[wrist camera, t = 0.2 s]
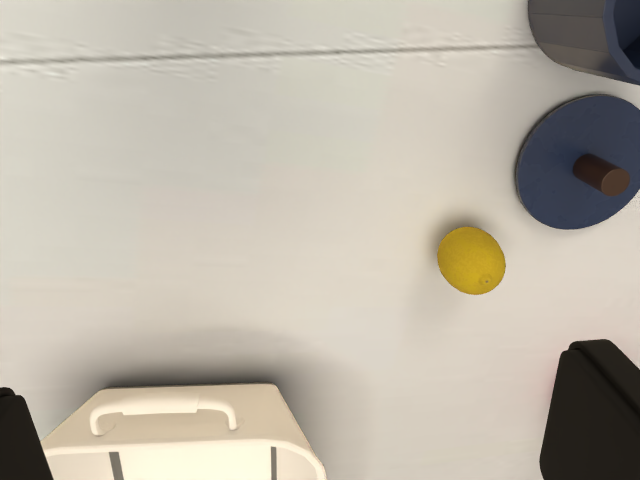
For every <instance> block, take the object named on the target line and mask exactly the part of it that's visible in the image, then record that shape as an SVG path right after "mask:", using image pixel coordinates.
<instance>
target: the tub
mask: <svg viewBox="0 0 640 480" xmlns="http://www.w3.org/2000/svg"><path fill="white" fill-rule="evenodd" d="M40 443H41V446H42V448H43V451H44V454H45V457H46V459H47V462H48V465H49V468H50V471H51V473H52V476H53V479H54V480H327V478H326V474H325V469H324V465H323V464H322V463H321V462H320V461H319V459H318V458H317V457H316V455H315V453H314V452H313V450H312V448H311V446H310V445H309V443H308V441H307V439H306V437H305V436H304V434H303V432H302V430H301V429H300V427H299V425H298V423H297V422H296V420H295V418H294V416H293V415H292V413H291V411H290V409H289V408H288V406H287V404H286V402H285V400H284V399H283V397H282V395H281V393H280V392H279V390H278V388H277V387H276V386H275V384H273V383H269V382H252V383H222V384H191V385H161V386H131V387H108V388H104V389H102V390H100V391H98V392H97V393H96V394H95V395H94V396H92V397H91V398H90V399H89V400H88V401H87V402H86V403H84V404H83V405H82V406H81V407H80V408H79V409H77V410H76V411H75V412H74V413H73V414H72V415H70V416H69V417H68V418H67V419H66V420H65V421H64V422H62V423H61V424H60V425H59V426H58V427H57V428H55V429H54V430H53V431H52V432H51V433H50V434H49V435H47V436H46V437H45V438H44V439H43V440H42V441H40Z"/></svg>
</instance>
